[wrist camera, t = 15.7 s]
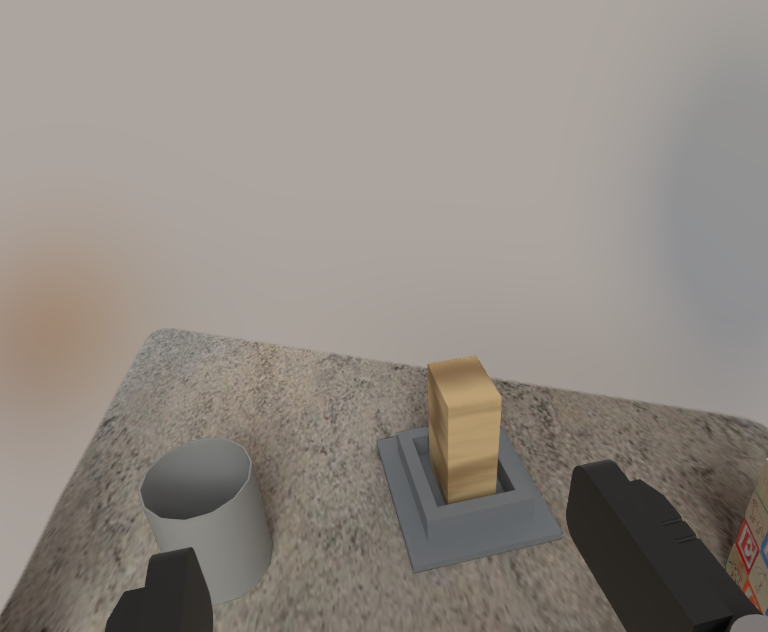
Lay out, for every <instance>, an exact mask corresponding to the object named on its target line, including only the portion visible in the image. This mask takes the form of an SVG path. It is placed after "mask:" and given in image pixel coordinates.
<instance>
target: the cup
mask: <svg viewBox="0 0 768 632" xmlns="http://www.w3.org/2000/svg"><path fill="white" fill-rule="evenodd" d="M139 495H140V499H141V502H142V506H143V509H144V512H145V514H146V516H147V519H148V521H149V524H150V526H151V529H152V531H153V534H154V536H155V539H156V541H157V544H158V546H159V548H160V551H161V553H165V552H169V551H174V550H179V549H183V548H188V547H192V548H193V549H194V551H195V553H196V556H197V559H198V562H199V564H200V567H201V570H202V573H203V575H204V578H205V581H206V584H207V587H208V589H209V592H210V596H211V602H212V605H213V606H215V605H219V604H222V603H225V602H228V601H231V600H234V599H238V598H240V597H241V596H242V595H243V594H245V593H246V592H247V591H249V590H250V589H251V588H252V587H254V586H255V585H256V584H258V583H259V581H260V580H261V578H262V576H263V575H264V573H265V572H266V570H267V568H268V567H269V565H270V563H271V554H272V540H271V536H270V532H269V528H268V524H267V520H266V516H265V512H264V508H263V504H262V499H261V495H260V491H259V487H258V483H257V479H256V475H255V471H254V467H253V463H252V460H251V458H250V456H249V455H248V453H247V451H246V449H245V447H243V446H241V445H239V444H237V443H236V442H234V441H232V440H230V439H224V438H203V439H199V440H195V441H191V442H186V443H183V444H181V445H179V446H178V447H176V448H174V449H172V450H170V451H169V452H167V453H165V454H163V455H161V457H160V458H159V459H158V460H157V461H156V462H155V463H154V464H153V465H152V466H151V467H150V468H149V469H148V470H147V471H146V472H145V475H144V477H143V480H142V483H141V485H140V488H139Z"/></svg>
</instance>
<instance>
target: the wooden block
mask: <svg viewBox="0 0 768 632" xmlns="http://www.w3.org/2000/svg"><path fill="white" fill-rule="evenodd" d="M501 404H502V397H501V396H500V394H499V392H498V391H497V389H496V388H495V386H494V384H493V383H492V381H491V379H490V378H489V376H488V374H487V373H486V371H485V369H484V368H483V366H482V365H481V363H480V361H479V360H478V358H477V356H471V357H465V358H459V359H453V360H447V361H442V362H436V363H430V364H428V408H429V456H430V466H431V468H432V471H433V474H434V476H435V479H436V482H437V484H438V487H439V490H440V492H441V495H442V498H443V500H444V503H445V505H448V504H453V503H457V502H462V501H467V500H471V499H476V498H481V497H485V496H490V495H495V494H496V480H497V465H498V450H499V434H500V419H501Z"/></svg>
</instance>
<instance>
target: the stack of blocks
mask: <svg viewBox="0 0 768 632" xmlns="http://www.w3.org/2000/svg"><path fill="white" fill-rule="evenodd" d="M725 568H726V571H727V573H728V574H729V575H730V577H731V578H732V579H733V580H734V581H735V583H736V584H737V585H738V586H739V588H740V589H741V590H742V591H743V592H744V594H745V595H746V596H747V597H748V598H749V600H750V601H751V602H752V603H753V604H754V605H755V607H756V608H757V609H758V610H759V611H760V612H761V613H763V614H764V615H765V616H768V458H766V461H765V463H764V466H763V469H762V471H761V474H760V477H759V480H758V483H757V486H756V488H755V489H754V491H753V494H752V497H751V499H750V502H749V505H748V507H747V509H746V512H745V518H744V520H743V523H742V525H741V528H740V531H739V534H738V537H737V539H736V542H735V544H733V546H732V549H731V552H730V554H729V558H728V560H727V563H726V566H725Z"/></svg>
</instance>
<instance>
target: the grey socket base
mask: <svg viewBox="0 0 768 632" xmlns="http://www.w3.org/2000/svg"><path fill="white" fill-rule="evenodd" d="M377 448H378V451H379V455H380V458H381V462H382V465H383V468H384V472H385V475H386V479H387V482H388V486H389V489H390V493H391V496H392V500H393V503H394V506H395V510H396V513H397V517H398V520H399V524H400V527H401V531H402V534H403V537H404V541H405V544H406V548H407V551H408V555H409V558H410V562H411V565H412V568H413V572H414V573H416V572H421V571H425V570H429V569H434V568H438V567H442V566H446V565H451V564H455V563H459V562H464V561H468V560H472V559H476V558H481V557H485V556H489V555H494V554H498V553H502V552H506V551H511V550H515V549H519V548H524V547H528V546H532V545H537V544H541V543H545V542H549V541H554V540H558V539H562V534H563V532H562V530H561V528H560V527H559V525H558V523H557V522H556V520H555V518H554V516H553V515H552V513H551V511H550V510H549V508H548V506H547V504H546V503H545V501H544V499H543V498H542V496H541V494H540V492H539V491H538V489H537V487H536V486H535V484H534V482H533V480H532V479H531V477H530V475H529V473H528V472H527V470H526V468H525V467H524V465H523V463H522V461H521V460H520V458H519V456H518V455H517V453H516V451H515V449H514V448H513V446H512V444H511V443H510V441H509V439H508V437H507V436H506V434H505V432H504V431H503V429H502V427H501V425H500V434H499V450H498V465H497V480H496V494H495V495H490V496H485V497H481V498H476V499H471V500H467V501H462V502H457V503H453V504H448V505H445V503H444V500H443V498H442V495H441V492H440V490H439V487H438V484H437V482H436V479H435V476H434V474H433V471H432V468H431V466H430V456H429V426H427V427H422V428H417V429H412V430H407V431H402V432H397V437H392V438H387V439H381V440H377Z"/></svg>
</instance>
